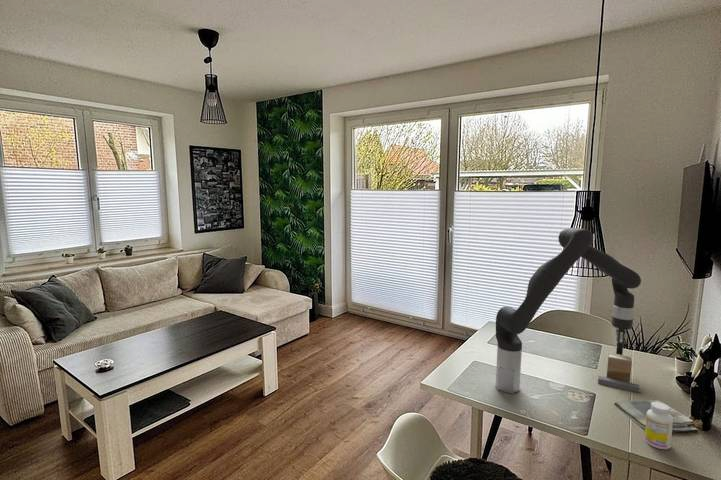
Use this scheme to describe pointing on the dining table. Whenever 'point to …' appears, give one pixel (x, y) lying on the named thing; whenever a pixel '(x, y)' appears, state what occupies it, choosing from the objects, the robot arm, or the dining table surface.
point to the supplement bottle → (659, 426)
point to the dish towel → (640, 408)
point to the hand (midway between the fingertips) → (619, 354)
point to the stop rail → (618, 384)
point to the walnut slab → (619, 367)
